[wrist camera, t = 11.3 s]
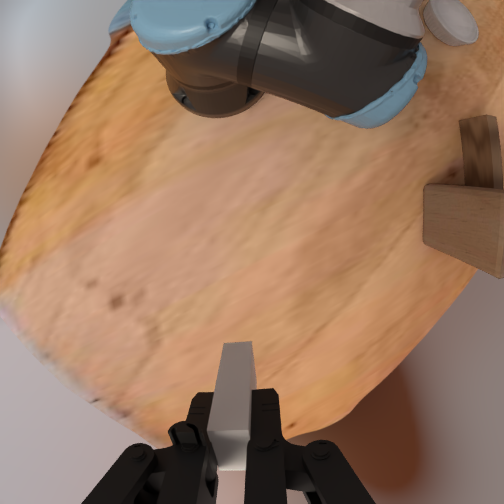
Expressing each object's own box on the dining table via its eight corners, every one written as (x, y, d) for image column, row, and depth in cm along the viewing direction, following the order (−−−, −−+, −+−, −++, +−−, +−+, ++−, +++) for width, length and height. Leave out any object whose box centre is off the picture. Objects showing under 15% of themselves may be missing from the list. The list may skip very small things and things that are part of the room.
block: (421, 183, 42) (506, 191, 22) (465, 185, 41) (548, 195, 22) (420, 244, 44) (498, 282, 24) (463, 242, 44) (541, 273, 24)
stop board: (458, 120, 39) (486, 114, 31) (468, 122, 39) (496, 116, 31) (464, 244, 44) (492, 255, 36) (474, 243, 43) (501, 253, 36)
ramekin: (452, 60, 36) (467, 52, 31) (408, 16, 34) (420, 4, 29) (471, 36, 34) (485, 28, 29) (431, -4, 32) (443, -15, 27)
